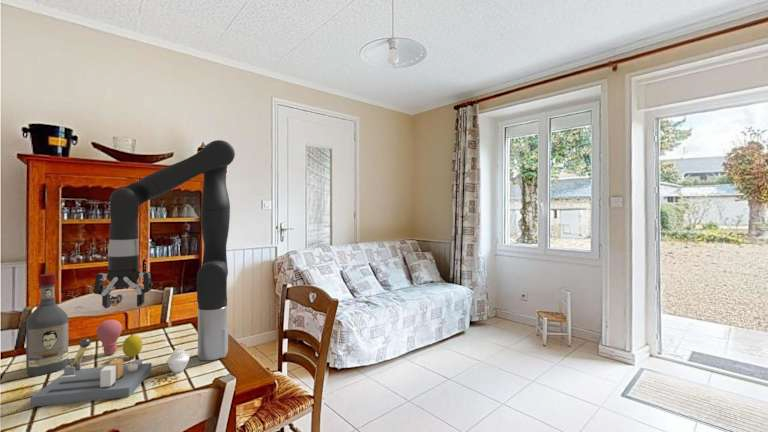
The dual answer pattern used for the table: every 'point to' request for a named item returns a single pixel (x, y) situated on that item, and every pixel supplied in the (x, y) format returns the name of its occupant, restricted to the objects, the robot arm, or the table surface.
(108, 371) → the grey slider
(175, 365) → the white egg shape
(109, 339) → the light bulb
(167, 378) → the table surface
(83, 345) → the brass lever
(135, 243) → the robot arm
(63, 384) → the panel
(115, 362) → the orange slider
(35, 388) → the table surface
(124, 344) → the lemon
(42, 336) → the liquor
